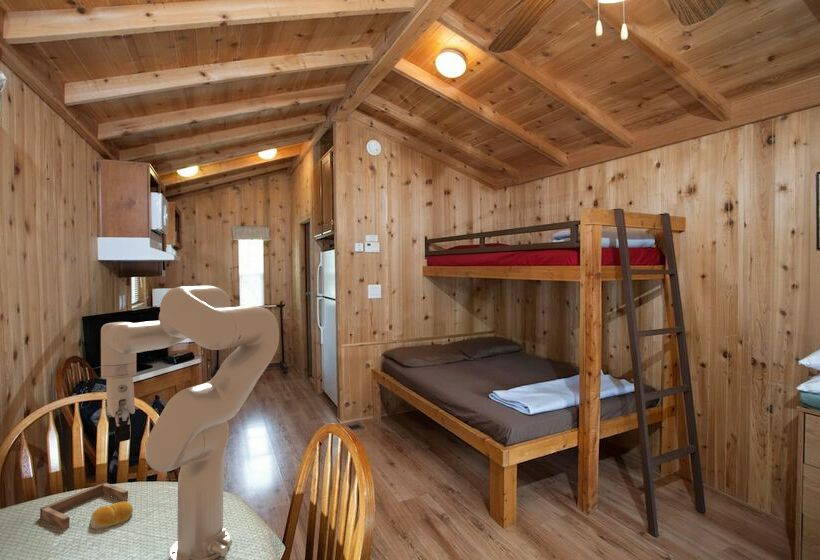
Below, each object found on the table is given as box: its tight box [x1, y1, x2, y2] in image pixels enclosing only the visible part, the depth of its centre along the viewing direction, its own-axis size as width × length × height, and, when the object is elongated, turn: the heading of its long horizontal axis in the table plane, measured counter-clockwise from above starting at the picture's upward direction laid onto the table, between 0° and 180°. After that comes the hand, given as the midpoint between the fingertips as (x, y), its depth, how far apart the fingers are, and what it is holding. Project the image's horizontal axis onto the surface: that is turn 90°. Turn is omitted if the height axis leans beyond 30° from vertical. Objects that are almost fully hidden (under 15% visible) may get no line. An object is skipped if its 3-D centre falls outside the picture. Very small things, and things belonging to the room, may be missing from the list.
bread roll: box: [89, 501, 134, 530], centre depth 108 cm, size 8×9×4 cm
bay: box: [39, 482, 129, 530], centre depth 112 cm, size 11×15×2 cm
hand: (119, 435), depth 107 cm, fingers open, 9 cm apart
